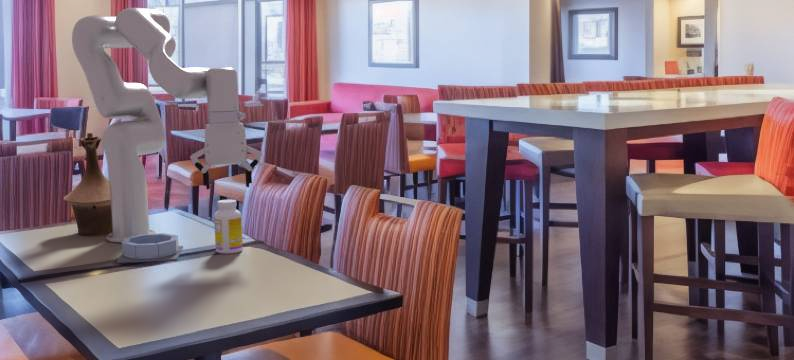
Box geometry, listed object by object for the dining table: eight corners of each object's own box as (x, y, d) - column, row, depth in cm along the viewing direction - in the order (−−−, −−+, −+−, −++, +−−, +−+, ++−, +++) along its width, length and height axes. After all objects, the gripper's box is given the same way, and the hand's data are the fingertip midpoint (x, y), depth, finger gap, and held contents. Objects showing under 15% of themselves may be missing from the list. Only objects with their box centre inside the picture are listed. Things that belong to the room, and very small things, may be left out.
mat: (126, 249, 209) (126, 248, 209) (183, 247, 212) (182, 245, 212) (116, 263, 196) (116, 261, 196) (177, 260, 198) (177, 258, 198)
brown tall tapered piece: (64, 229, 236) (57, 131, 232) (126, 223, 243) (120, 129, 239) (67, 241, 220) (60, 137, 216) (134, 234, 227) (127, 133, 223)
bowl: (128, 248, 209) (127, 234, 208) (180, 246, 211) (180, 232, 210) (119, 260, 196) (118, 246, 196) (175, 258, 198) (174, 243, 198)
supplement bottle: (246, 248, 209) (244, 198, 208) (238, 254, 203) (236, 203, 201) (220, 248, 210) (218, 198, 208) (212, 254, 204) (209, 203, 202)
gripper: (259, 116, 206) (263, 183, 209) (189, 119, 204) (193, 187, 206) (259, 117, 199) (263, 187, 201) (186, 120, 197) (191, 191, 199)
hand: (228, 187), depth 204 cm, fingers open, 9 cm apart
